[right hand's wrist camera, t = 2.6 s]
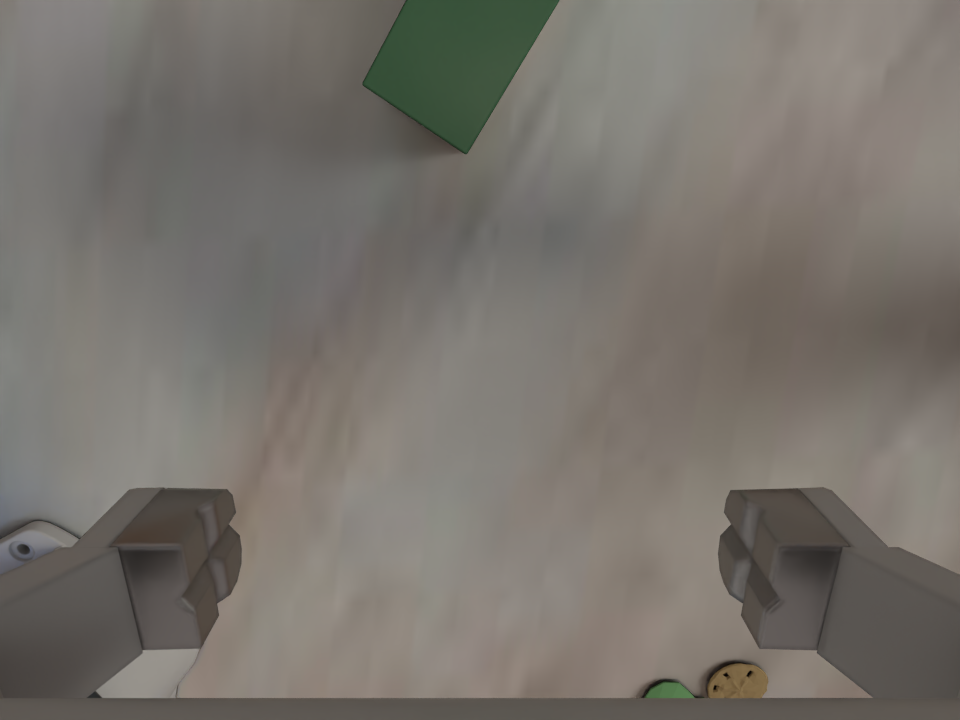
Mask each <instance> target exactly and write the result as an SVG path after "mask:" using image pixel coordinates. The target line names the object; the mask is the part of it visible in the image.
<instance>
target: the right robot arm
mask: <svg viewBox="0 0 960 720" xmlns="http://www.w3.org/2000/svg"><path fill="white" fill-rule="evenodd" d="M235 513H236V510H235V505H234V500H233V495H232V494H231V493H230V492H229V491H228V490H227V489H194V488H135V489H130V490H129V491H128V492H126V493H125V494H124V495H123V496H122V497H121V498H120V499H119V500H118V501H117V502H116V503H115V504H114V505H113V506H112V507H111V508H110V509H109V510H108V511H107V512H106V513H105V514H104V515H103V516H102V517H101V518H100V519H99V520H98V521H97V522H96V523H95V524H94V525H93V526H92V527H91V528H90V529H89V530H88V531H87V532H86V533H85V534H84V535H83V536H82V537H81V538H80V539H79V538H77V537H75V536H74V535H72V534H70V533H68V532H67V531H65V530H63V529H61V528H59V527H57V526H55V525H53V524H51V523H48V522H44V521H34V522H31V523H29V524H27V525H25V526H23V527H21V528H20V529H18V530H16V531H14V532H12V533H11V534H9V535H7V536H5V537H3V538H2V539H0V720H960V575H959V574H957V573H955V572H952V571H950V570H948V569H946V568H944V567H941V566H939V565H937V564H935V563H932V562H930V561H928V560H926V559H924V558H921V557H919V556H917V555H915V554H913V553H910V552H908V551H906V550H904V549H901V548H899V547H888V546H887V545H886V544H885V543H884V542H883V541H882V540H881V539H880V538H879V537H878V536H877V535H876V534H875V533H874V532H873V531H872V530H871V529H870V528H869V527H868V526H867V525H866V524H865V523H864V522H863V521H862V520H861V519H860V518H859V517H858V516H857V515H856V514H855V513H854V512H853V511H852V510H851V509H850V508H849V507H848V506H847V505H846V504H845V503H844V502H843V501H842V500H841V499H840V498H839V497H838V496H837V495H836V494H835V493H834V492H833V491H832V490H829V489H826V488H824V487H818V488H793V489H756V490H730V492H729V494H728V496H727V499H726V504H725V509H724V513H725V515H726V517H727V518H728V520H729V521H730V523H731V525H730V526H729V527H728V528H727V529H726V530H725V531H724V532H723V533H722V534H721V535H720V542H719V550H718V558H719V568H720V573H721V576H722V579H723V583H724V585H725V587H726V588H727V590H728V592H729V594H730V595H731V596H733V597H734V598H736V599H737V600H739V601H740V602H742V603H743V607H742V613H741V616H742V618H743V620H744V622H745V624H746V625H747V627H748V629H749V631H750V633H751V634H752V636H753V638H754V640H755V642H756V643H757V645H758V647H759V649H789V650H817V653H818V654H819V655H820V656H821V657H823V658H824V659H825V660H827V661H828V662H829V663H830V664H832V665H833V666H834V667H835V668H837V669H838V670H839V671H840V672H842V673H843V674H844V675H845V676H847V677H848V678H849V679H850V680H852V681H853V682H854V683H856V684H857V685H858V686H859V687H861V688H862V689H863V690H864V691H866V692H867V693H868V694H869V695H871V696H872V697H873V698H176V690H177V686H178V684H179V682H180V681H181V680H182V679H183V677H184V676H185V675H186V673H187V672H188V671H189V670H190V668H191V667H192V665H193V664H194V662H195V660H196V658H197V655H198V652H199V649H201V647H202V645H203V644H204V642H205V640H206V638H207V636H208V635H209V633H210V631H211V629H212V627H213V625H214V624H215V622H216V620H217V618H218V616H219V613H218V607H217V603H218V602H220V601H221V600H223V599H224V598H226V597H227V596H229V595H230V594H231V592H232V590H233V588H234V586H235V585H236V583H237V580H238V576H239V571H240V567H241V558H242V548H241V541H240V535H239V534H238V533H237V532H236V531H235V530H234V529H233V528H232V527H231V526H230V525H229V523H230V521H231V520H232V518H233V517H234V515H235ZM26 545H27V546H28V547H27V546H26Z"/></svg>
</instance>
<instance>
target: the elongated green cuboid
mask: <svg viewBox="0 0 960 720" xmlns="http://www.w3.org/2000/svg"><path fill="white" fill-rule="evenodd" d="M558 2H559V0H406V2H405V4H404V5H403V7H402V9H401V11H400V13H399V15H398V17H397V19H396V21H395V22H394V24H393V26H392V28H391V30H390V32H389V34H388V36H387V38H386V39H385V41H384V43H383V45H382V47H381V49H380V51H379V53H378V55H377V56H376V58H375V60H374V62H373V64H372V66H371V68H370V70H369V72H368V74H367V75H366V77H365V79H364V81H363V86H364V87H366V88H367V89H369V90H370V91H372V92H373V93H375V94H376V95H378V96H379V97H381V98H382V99H384V100H385V101H387V102H388V103H390V104H391V105H393V106H394V107H396V108H397V109H399V110H400V111H402V112H403V113H405V114H406V115H408V116H409V117H411V118H412V119H413V120H415V121H416V122H418V123H419V124H421V125H422V126H424V127H425V128H427V129H428V130H430V131H431V132H433V133H434V134H436V135H437V136H439V137H440V138H442V139H443V140H445V141H446V142H448V143H449V144H451V145H452V146H454V147H455V148H457V149H458V150H460V151H461V152H463V153H464V154H467V153H468V151H469V150H470V148H471V146H472V145H473V143H474V142H475V140H476V138H477V137H478V135H479V133H480V132H481V130H482V128H483V127H484V125H485V123H486V122H487V120H488V118H489V117H490V115H491V113H492V112H493V110H494V108H495V107H496V105H497V103H498V102H499V100H500V98H501V97H502V95H503V93H504V92H505V90H506V88H507V87H508V85H509V83H510V82H511V80H512V78H513V77H514V75H515V73H516V72H517V70H518V68H519V67H520V65H521V63H522V62H523V60H524V58H525V57H526V55H527V53H528V52H529V50H530V48H531V47H532V45H533V43H534V42H535V40H536V38H537V37H538V35H539V33H540V32H541V30H542V29H543V27H544V25H545V24H546V22H547V20H548V19H549V17H550V15H551V14H552V12H553V10H554V9H555V7H556V5H557V4H558Z"/></svg>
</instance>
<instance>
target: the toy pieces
mask: <svg viewBox="0 0 960 720" xmlns="http://www.w3.org/2000/svg"><path fill="white" fill-rule="evenodd" d="M749 671H752V673H751V674H750V675H749V676H746V675H747V673H748V672H749ZM725 673H727V674H728V675H729V676H727V677H726V676H724V675H723V674H725ZM767 684H768V678H767V676H766V674H765V672H764V671H763V670H762V669H760V668H759V667H757V666H754V665H752V664H750V665H746V664H742V663H736V664H731V665H728V666H725V667H723V668H721V669H720V670H718V671H717V672H715V674H714V675H713V676H712V678H711V679H710V681H709V684H708V686H707V690H708V697H709V698H724V697H726V698H762V696H763V694H764V693H765V692H766V691H767ZM714 685H717V687H716V690H713V688H714ZM645 698H695V697H694V696H693V695H692V694H691V693H690V692H689V691H688V690H687V689H686V688H685V687H684V686H682V685H681V684H680V683H679V682H662V683H660V684H658V685H656V686H654V687H652V688H650V690H649V691H648V693H647V694H646V696H645ZM702 698H704V697H702Z"/></svg>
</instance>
